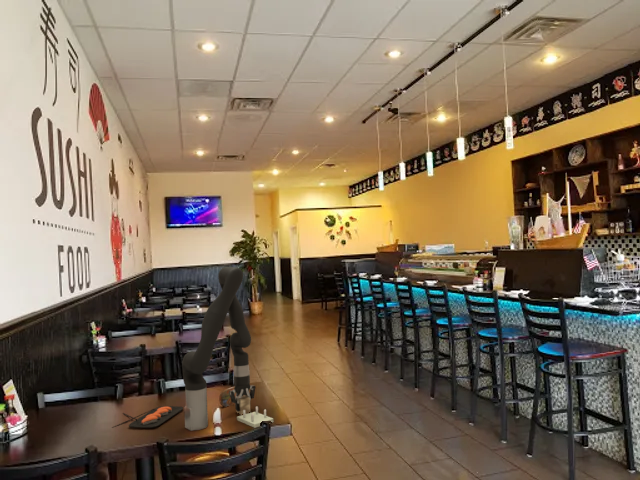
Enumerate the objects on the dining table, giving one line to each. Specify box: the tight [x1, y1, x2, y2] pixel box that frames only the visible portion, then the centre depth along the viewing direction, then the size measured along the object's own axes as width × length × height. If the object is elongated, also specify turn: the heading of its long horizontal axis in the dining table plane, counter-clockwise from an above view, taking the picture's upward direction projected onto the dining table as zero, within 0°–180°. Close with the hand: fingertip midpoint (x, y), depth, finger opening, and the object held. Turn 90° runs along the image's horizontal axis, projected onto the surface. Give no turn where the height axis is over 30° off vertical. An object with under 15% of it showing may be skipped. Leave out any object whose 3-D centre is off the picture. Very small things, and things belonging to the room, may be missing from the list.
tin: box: [218, 385, 245, 408], centre depth 256 cm, size 15×3×8 cm, turn 143°
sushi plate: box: [111, 405, 184, 429], centre depth 239 cm, size 29×30×4 cm
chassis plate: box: [236, 406, 274, 429], centre depth 228 cm, size 10×15×5 cm, turn 40°
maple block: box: [235, 395, 251, 416], centre depth 241 cm, size 5×5×7 cm
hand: (243, 409), depth 241 cm, fingers closed on maple block, 5 cm apart
